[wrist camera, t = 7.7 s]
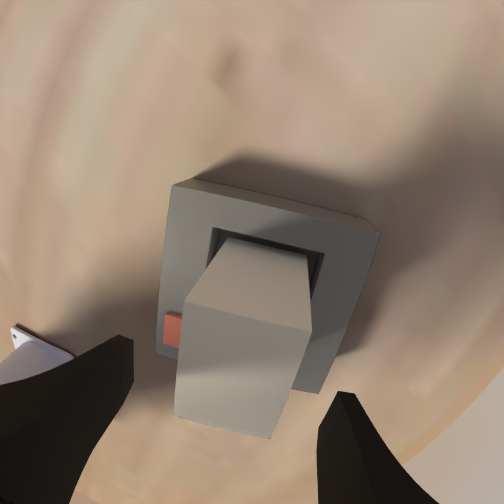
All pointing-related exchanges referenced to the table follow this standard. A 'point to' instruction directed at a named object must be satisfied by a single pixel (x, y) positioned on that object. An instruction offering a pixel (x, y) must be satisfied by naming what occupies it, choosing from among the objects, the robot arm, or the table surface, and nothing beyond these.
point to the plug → (243, 338)
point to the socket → (273, 235)
